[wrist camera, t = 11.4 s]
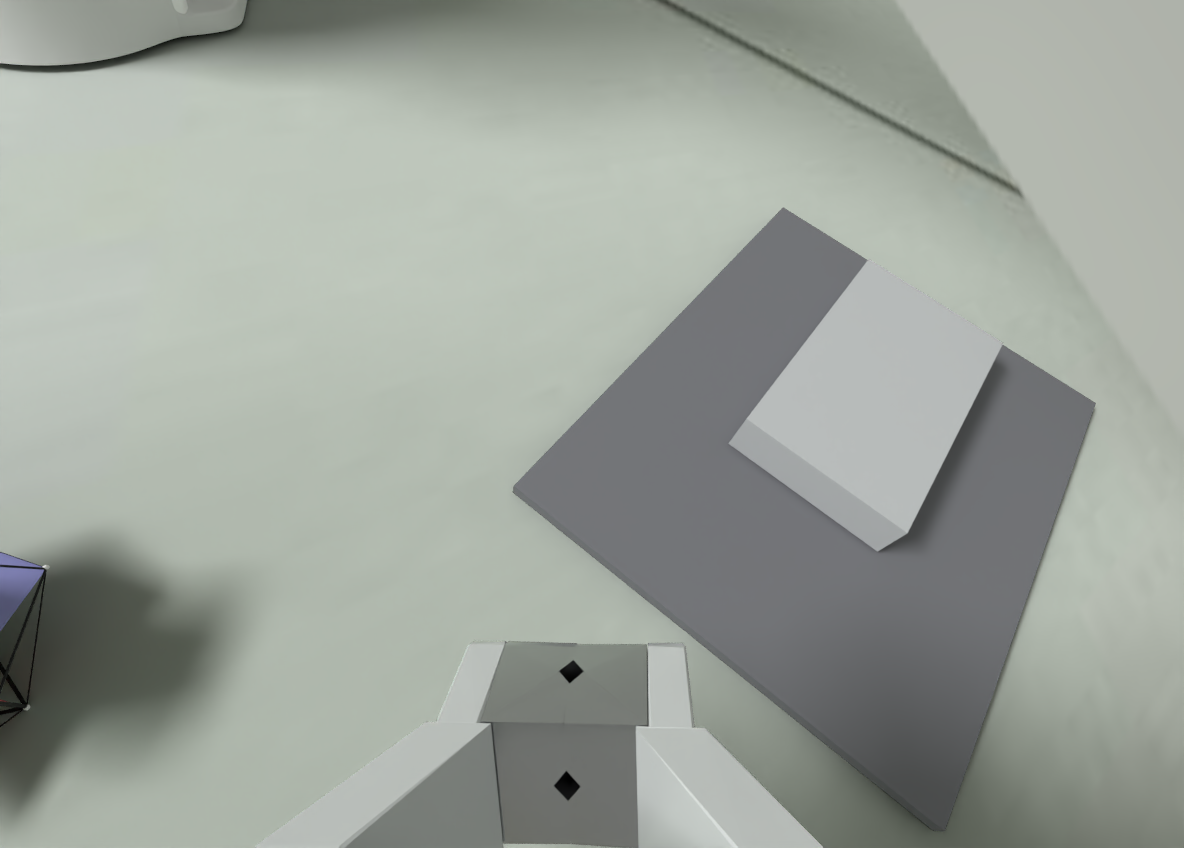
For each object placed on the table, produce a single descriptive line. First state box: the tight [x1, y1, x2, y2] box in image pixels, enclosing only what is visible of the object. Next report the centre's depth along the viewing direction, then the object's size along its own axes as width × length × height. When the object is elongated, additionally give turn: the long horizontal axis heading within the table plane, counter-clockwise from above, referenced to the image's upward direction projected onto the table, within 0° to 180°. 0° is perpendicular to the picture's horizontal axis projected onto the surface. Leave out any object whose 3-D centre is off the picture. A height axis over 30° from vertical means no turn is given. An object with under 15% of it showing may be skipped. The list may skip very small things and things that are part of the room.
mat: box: [513, 208, 1096, 831], centre depth 28 cm, size 22×18×1 cm
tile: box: [728, 259, 1003, 552], centre depth 28 cm, size 2×7×12 cm
